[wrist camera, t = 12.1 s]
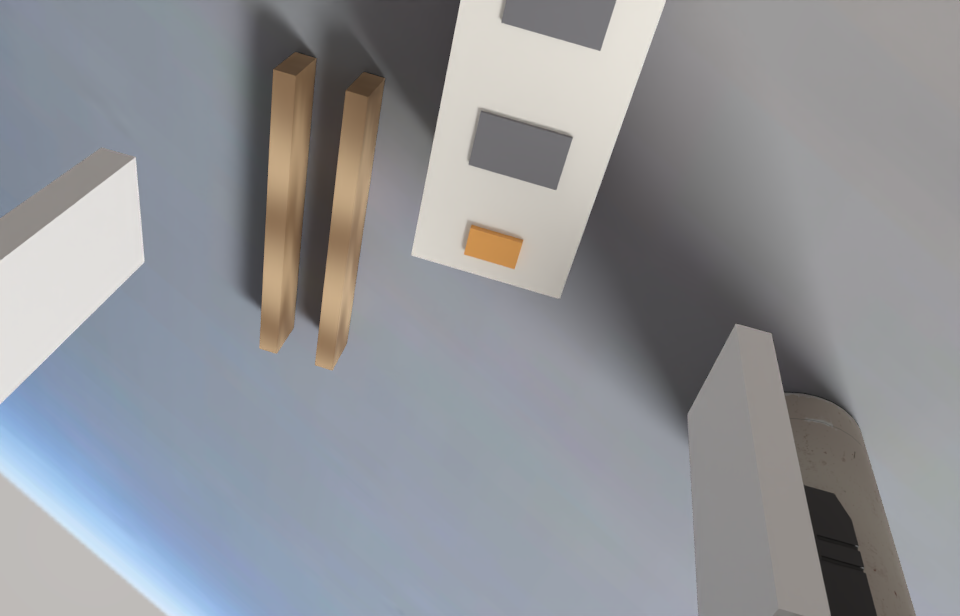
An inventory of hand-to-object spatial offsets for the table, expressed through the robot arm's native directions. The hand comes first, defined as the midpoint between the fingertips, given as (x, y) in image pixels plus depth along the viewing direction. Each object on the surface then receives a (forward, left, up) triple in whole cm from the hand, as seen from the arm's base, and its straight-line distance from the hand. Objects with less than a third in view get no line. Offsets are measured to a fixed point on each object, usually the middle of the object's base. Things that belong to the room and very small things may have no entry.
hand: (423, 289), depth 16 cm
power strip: (+1, +1, -18) cm, 18 cm away
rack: (-8, -11, -19) cm, 23 cm away
